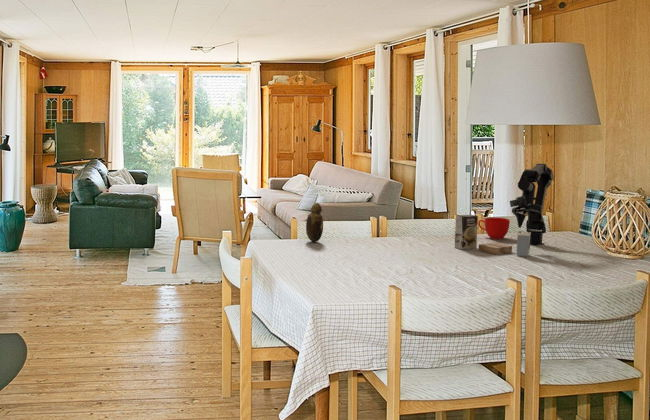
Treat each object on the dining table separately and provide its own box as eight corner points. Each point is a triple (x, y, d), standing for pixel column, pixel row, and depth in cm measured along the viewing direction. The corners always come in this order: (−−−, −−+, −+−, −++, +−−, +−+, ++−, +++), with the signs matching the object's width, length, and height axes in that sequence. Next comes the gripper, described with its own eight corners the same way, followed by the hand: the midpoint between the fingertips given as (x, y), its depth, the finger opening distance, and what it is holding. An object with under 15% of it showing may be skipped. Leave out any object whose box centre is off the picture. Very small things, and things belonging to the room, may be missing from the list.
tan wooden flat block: (495, 248, 367) (495, 242, 366) (511, 252, 357) (512, 246, 357) (478, 250, 361) (478, 244, 360) (495, 254, 352) (495, 248, 351)
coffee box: (462, 249, 363) (463, 216, 361) (454, 247, 368) (455, 215, 366) (477, 248, 367) (478, 215, 365) (468, 246, 373) (470, 214, 370)
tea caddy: (518, 254, 353) (519, 231, 351) (529, 255, 351) (530, 232, 349) (516, 256, 348) (517, 232, 347) (527, 257, 346) (528, 233, 345)
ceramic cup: (483, 234, 408) (483, 216, 406) (512, 237, 398) (513, 219, 397) (472, 237, 397) (473, 219, 396) (503, 241, 388) (503, 222, 386)
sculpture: (323, 244, 375) (324, 204, 372) (307, 244, 374) (307, 204, 371) (321, 239, 388) (321, 201, 385) (305, 239, 387) (305, 201, 384)
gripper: (504, 194, 368) (499, 225, 366) (522, 189, 350) (518, 221, 348) (524, 198, 371) (520, 229, 368) (544, 194, 353) (540, 226, 350)
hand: (524, 226), depth 359 cm, fingers open, 9 cm apart
